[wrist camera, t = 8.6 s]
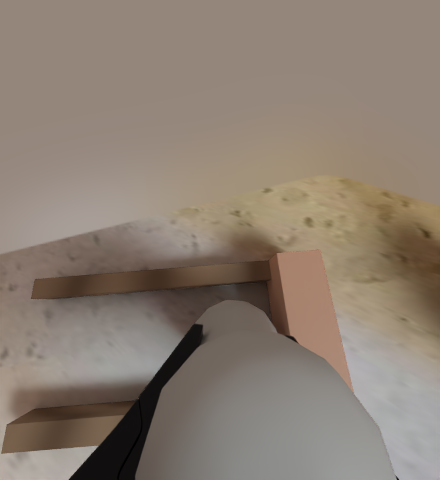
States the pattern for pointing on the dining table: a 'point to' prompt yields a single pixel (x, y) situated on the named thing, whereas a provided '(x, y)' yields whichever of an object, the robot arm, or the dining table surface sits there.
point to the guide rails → (109, 414)
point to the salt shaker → (259, 411)
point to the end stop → (306, 306)
